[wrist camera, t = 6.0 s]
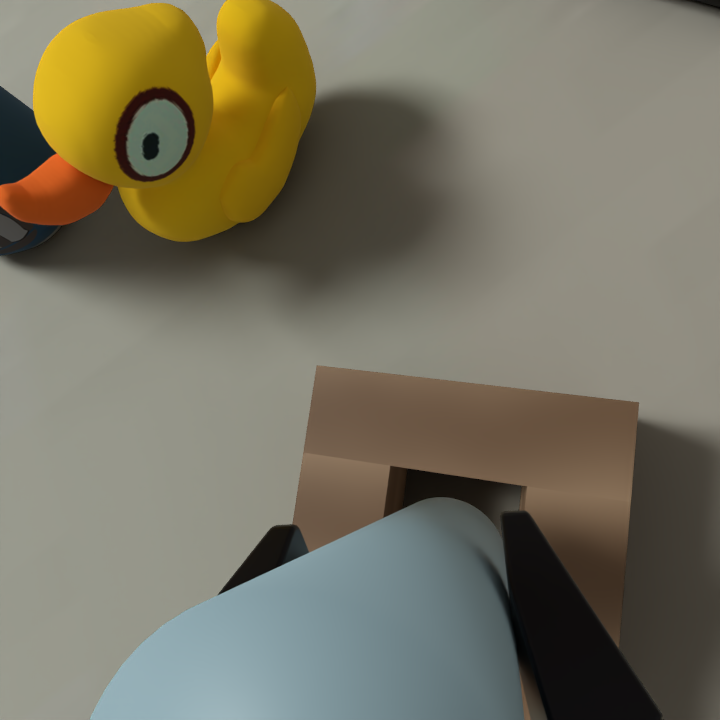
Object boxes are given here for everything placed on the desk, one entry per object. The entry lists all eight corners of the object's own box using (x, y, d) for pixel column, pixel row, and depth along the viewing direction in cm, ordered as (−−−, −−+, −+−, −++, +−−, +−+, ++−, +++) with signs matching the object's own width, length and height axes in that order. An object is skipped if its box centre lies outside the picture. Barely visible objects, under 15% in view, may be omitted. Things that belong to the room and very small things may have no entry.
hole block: (588, 708, 21) (609, 765, 17) (307, 643, 23) (268, 680, 19) (614, 413, 22) (638, 402, 18) (345, 380, 24) (316, 365, 20)
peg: (528, 604, 15) (636, 1091, 3) (407, 645, 15) (130, 1201, 4) (477, 479, 16) (422, 520, 4) (364, 522, 16) (21, 667, 5)
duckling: (193, 325, 26) (15, 245, 16) (115, 251, 28) (-89, 138, 18) (367, 122, 26) (290, -80, 16) (279, 58, 27) (161, -162, 18)
